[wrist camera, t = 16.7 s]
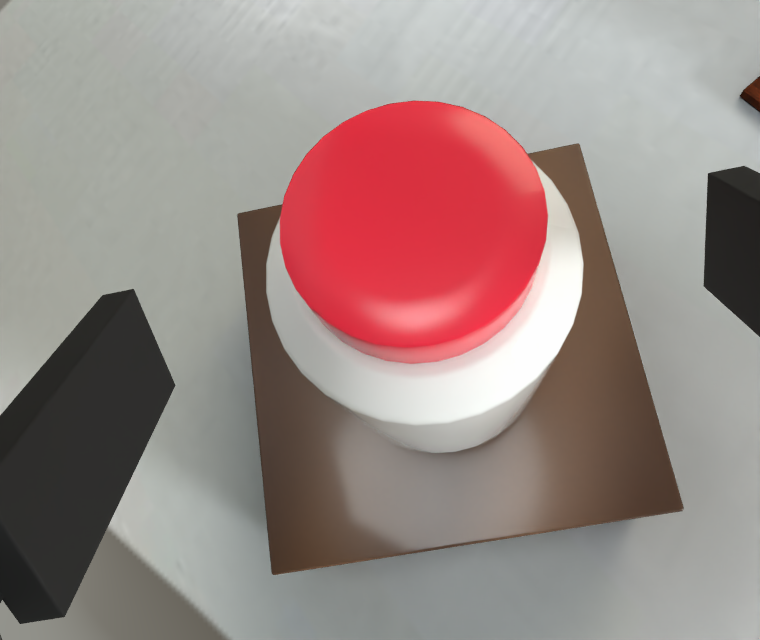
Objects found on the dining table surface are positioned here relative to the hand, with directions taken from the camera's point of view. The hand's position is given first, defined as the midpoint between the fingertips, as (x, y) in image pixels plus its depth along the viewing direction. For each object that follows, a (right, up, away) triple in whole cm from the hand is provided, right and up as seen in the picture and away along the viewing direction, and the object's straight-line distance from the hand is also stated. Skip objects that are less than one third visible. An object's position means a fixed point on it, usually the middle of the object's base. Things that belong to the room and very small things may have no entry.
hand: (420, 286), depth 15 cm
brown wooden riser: (+2, -3, +14) cm, 15 cm away
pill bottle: (+1, -2, +9) cm, 9 cm away
